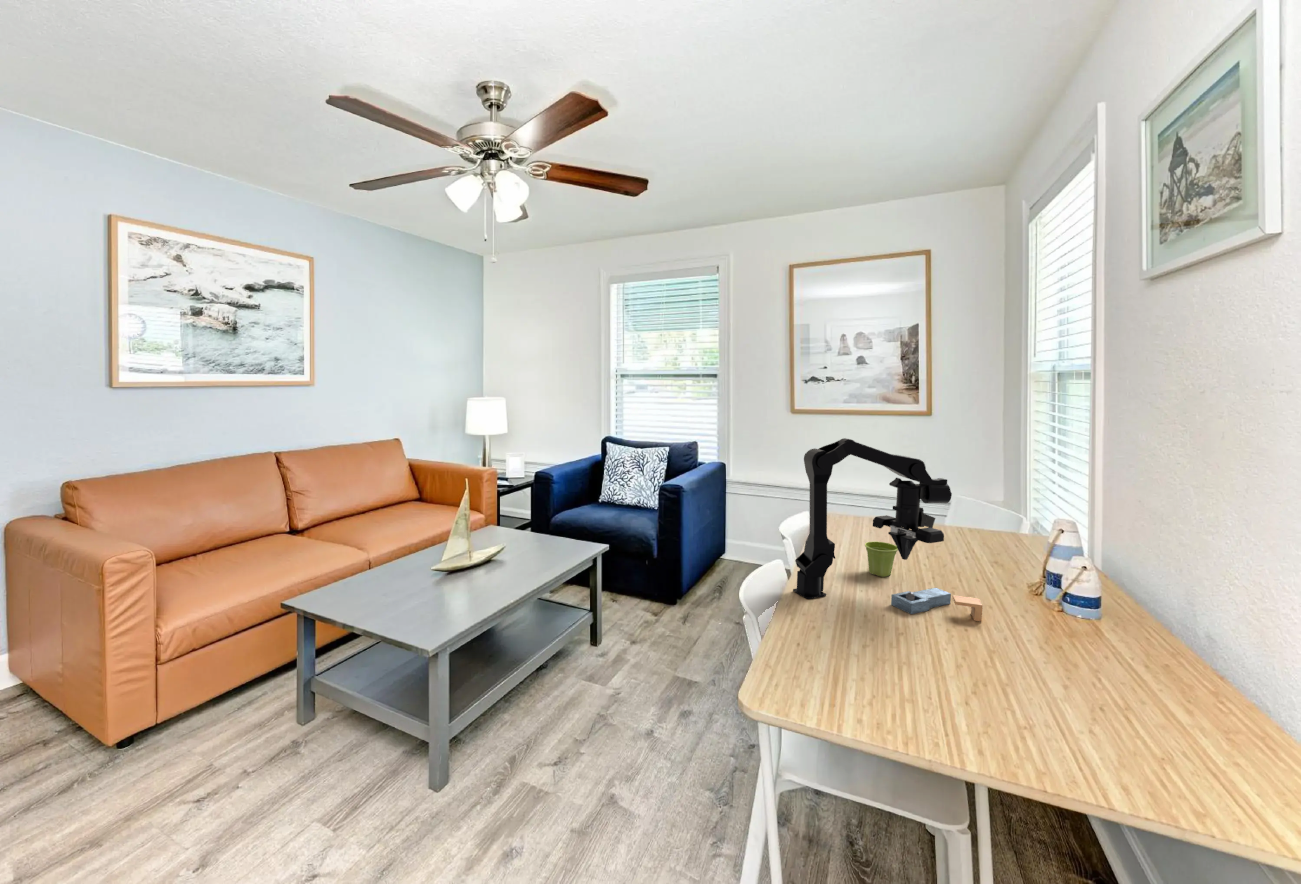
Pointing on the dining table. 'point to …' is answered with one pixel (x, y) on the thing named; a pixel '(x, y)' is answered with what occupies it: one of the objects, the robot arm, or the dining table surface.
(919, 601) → the link
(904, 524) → the robot arm
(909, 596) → the cylinder
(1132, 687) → the dining table surface
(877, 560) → the plant pot
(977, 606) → the keeper
